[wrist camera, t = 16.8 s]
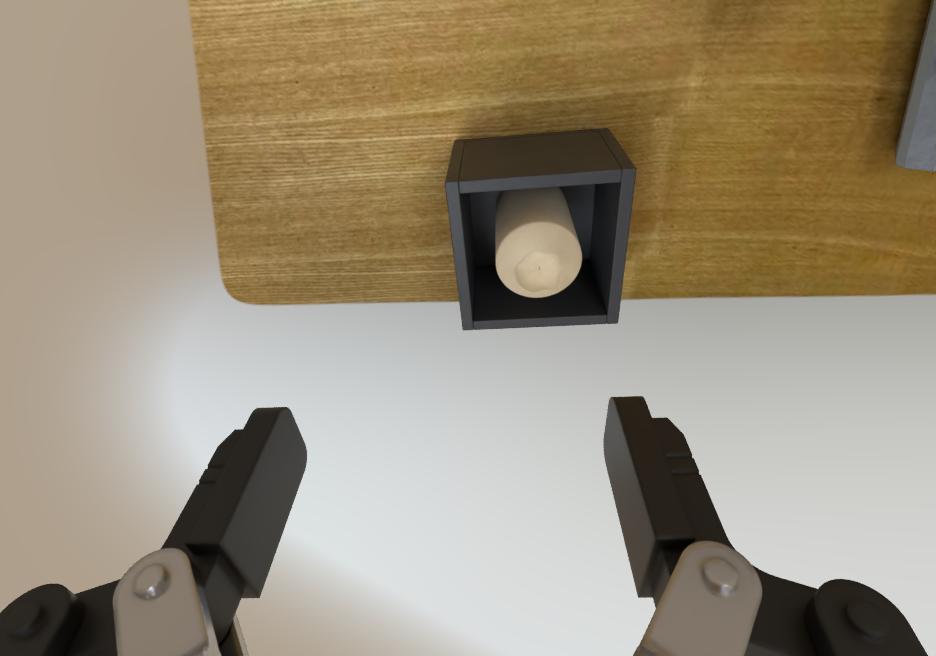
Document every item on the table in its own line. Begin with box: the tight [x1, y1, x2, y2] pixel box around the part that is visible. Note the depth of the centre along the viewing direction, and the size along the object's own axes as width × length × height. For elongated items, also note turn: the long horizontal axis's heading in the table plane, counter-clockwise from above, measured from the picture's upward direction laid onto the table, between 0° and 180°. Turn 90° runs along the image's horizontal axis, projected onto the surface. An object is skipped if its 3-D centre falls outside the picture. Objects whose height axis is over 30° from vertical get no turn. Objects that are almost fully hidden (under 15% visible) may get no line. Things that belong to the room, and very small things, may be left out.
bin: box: [445, 128, 636, 330], centre depth 35 cm, size 11×11×9 cm
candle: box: [495, 187, 582, 298], centre depth 34 cm, size 6×6×10 cm
